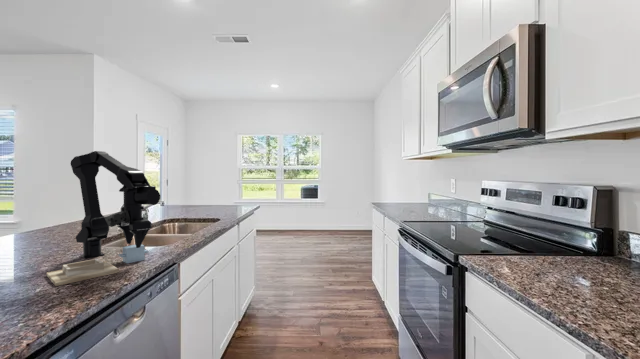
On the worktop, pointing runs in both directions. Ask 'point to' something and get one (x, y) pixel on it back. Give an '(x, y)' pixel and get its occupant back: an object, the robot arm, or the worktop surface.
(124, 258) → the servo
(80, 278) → the chassis pocket
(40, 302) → the worktop surface
